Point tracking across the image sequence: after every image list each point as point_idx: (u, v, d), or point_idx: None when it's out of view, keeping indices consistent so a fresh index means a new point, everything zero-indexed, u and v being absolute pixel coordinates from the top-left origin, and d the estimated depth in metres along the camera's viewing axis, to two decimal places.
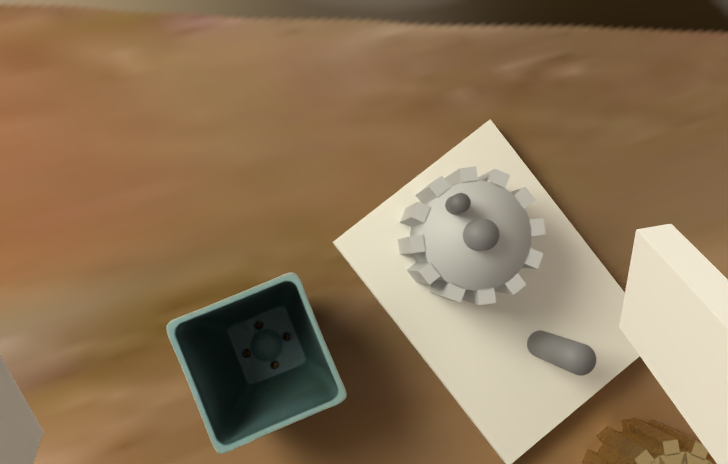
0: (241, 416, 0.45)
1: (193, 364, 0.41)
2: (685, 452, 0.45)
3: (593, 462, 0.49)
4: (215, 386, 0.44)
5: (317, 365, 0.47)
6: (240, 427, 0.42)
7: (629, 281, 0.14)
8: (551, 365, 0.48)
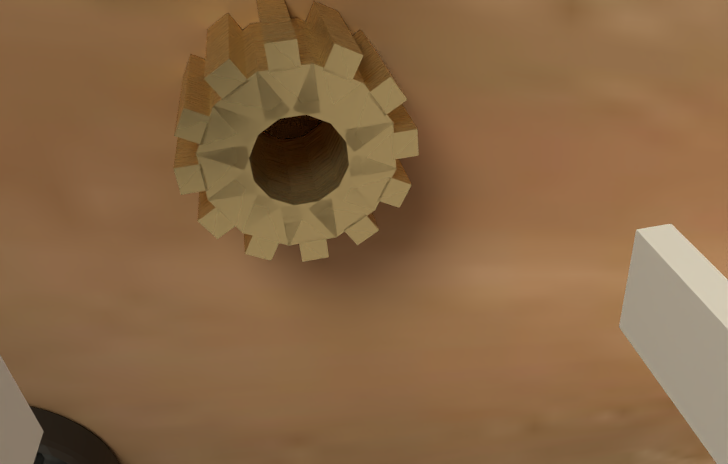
0: None
1: None
2: (362, 84, 0.23)
3: (217, 31, 0.25)
4: None
5: None
6: None
7: (629, 281, 0.14)
8: None
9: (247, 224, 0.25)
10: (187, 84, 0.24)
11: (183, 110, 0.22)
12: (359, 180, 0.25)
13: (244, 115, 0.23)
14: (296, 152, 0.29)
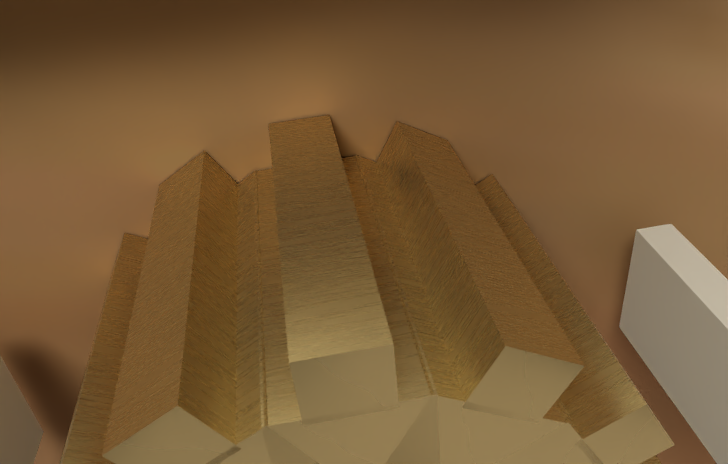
0: None
1: None
2: (564, 427, 0.08)
3: (173, 213, 0.11)
4: None
5: None
6: None
7: (629, 281, 0.14)
8: None
9: None
10: (89, 371, 0.09)
11: None
12: None
13: None
14: None
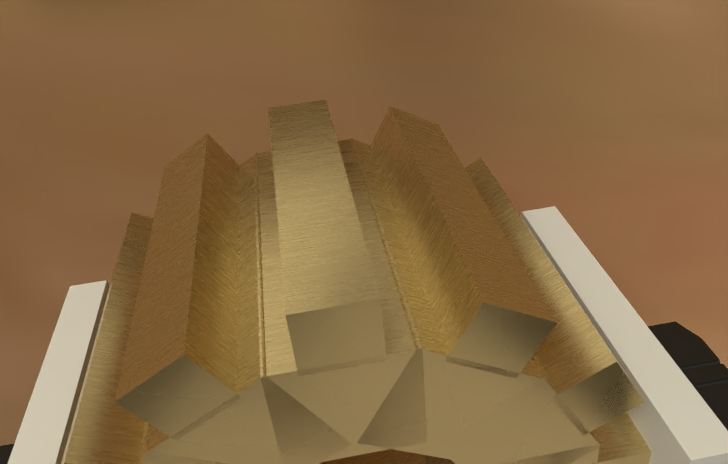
0: None
1: None
2: (540, 382, 0.09)
3: (178, 190, 0.11)
4: None
5: None
6: None
7: None
8: None
9: None
10: (100, 335, 0.10)
11: None
12: None
13: (231, 463, 0.09)
14: None
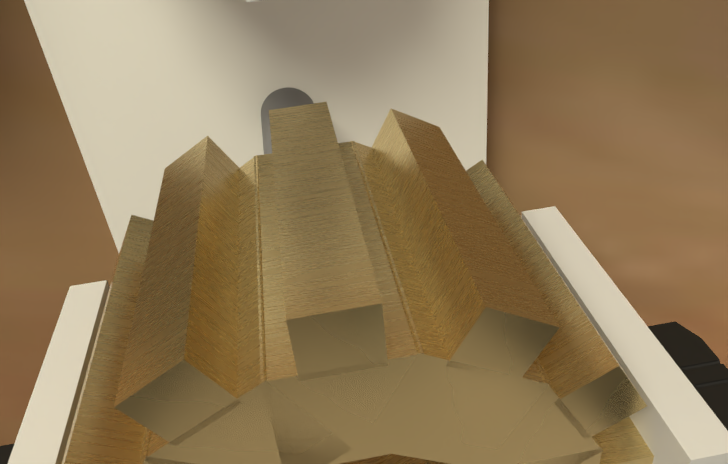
0: None
1: None
2: (542, 387, 0.09)
3: (178, 193, 0.11)
4: None
5: None
6: None
7: None
8: None
9: None
10: (100, 339, 0.10)
11: None
12: None
13: None
14: None
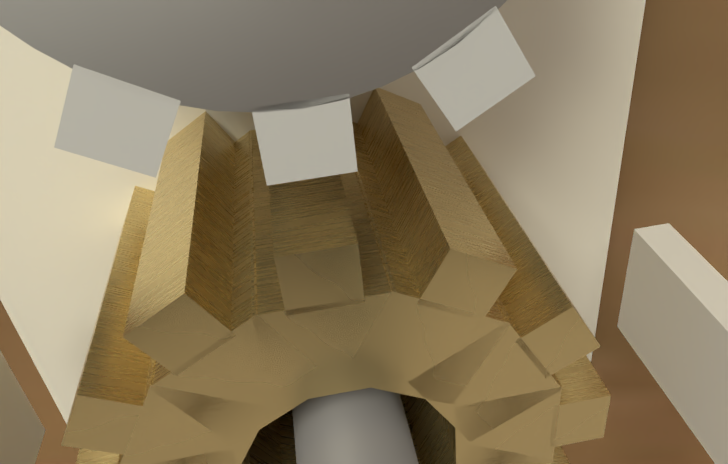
0: None
1: None
2: (504, 326, 0.10)
3: (179, 161, 0.12)
4: None
5: None
6: None
7: (627, 281, 0.14)
8: None
9: None
10: (107, 290, 0.11)
11: (78, 397, 0.09)
12: None
13: (226, 398, 0.10)
14: None
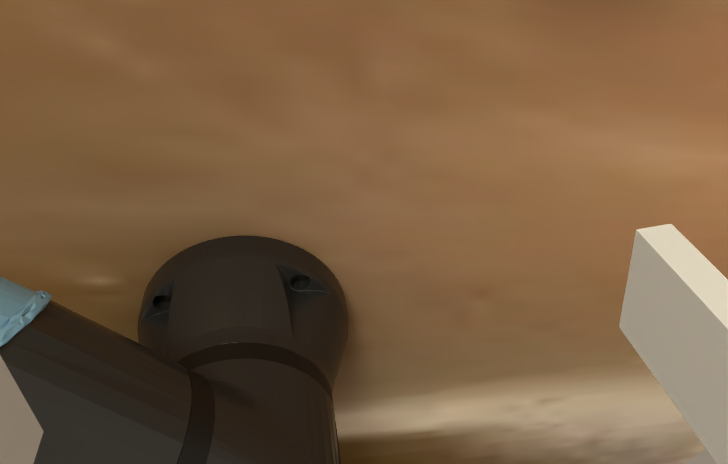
0: None
1: None
2: None
3: None
4: None
5: None
6: None
7: (628, 281, 0.14)
8: None
9: None
10: None
11: None
12: None
13: None
14: None
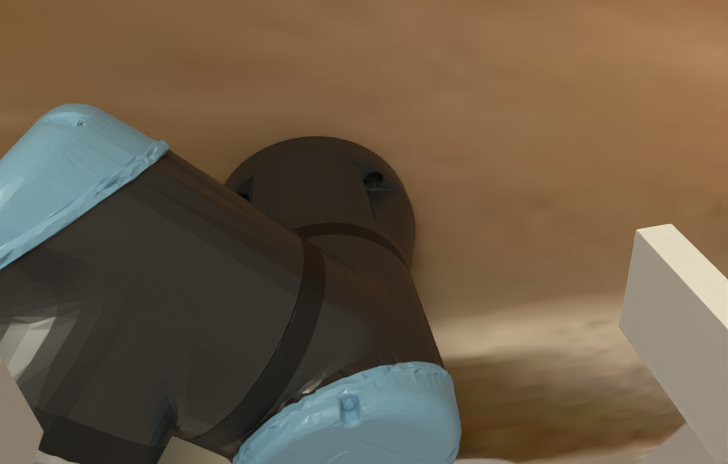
0: None
1: None
2: None
3: None
4: None
5: None
6: None
7: (629, 281, 0.14)
8: None
9: None
10: None
11: None
12: None
13: None
14: None
